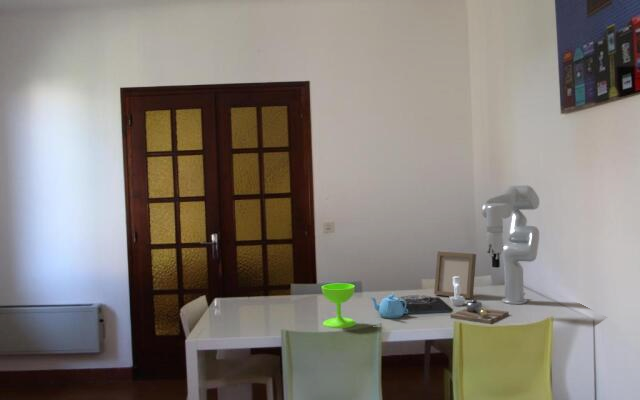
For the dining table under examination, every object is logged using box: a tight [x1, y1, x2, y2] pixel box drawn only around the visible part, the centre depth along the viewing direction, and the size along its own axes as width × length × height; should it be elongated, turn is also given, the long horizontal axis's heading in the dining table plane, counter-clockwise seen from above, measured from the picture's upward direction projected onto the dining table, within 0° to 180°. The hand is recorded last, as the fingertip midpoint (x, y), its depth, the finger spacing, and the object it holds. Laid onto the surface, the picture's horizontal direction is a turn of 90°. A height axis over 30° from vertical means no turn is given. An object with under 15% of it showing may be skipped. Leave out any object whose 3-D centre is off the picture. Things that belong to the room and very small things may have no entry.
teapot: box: [369, 291, 409, 319], centre depth 280 cm, size 15×15×10 cm
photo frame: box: [433, 251, 477, 300], centre depth 322 cm, size 15×22×25 cm
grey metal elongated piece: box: [466, 299, 487, 316], centre depth 272 cm, size 19×7×5 cm, turn 2°
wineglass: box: [321, 282, 357, 329], centre depth 268 cm, size 16×16×18 cm
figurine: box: [448, 276, 466, 307], centre depth 299 cm, size 7×9×15 cm
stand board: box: [450, 307, 510, 325], centre depth 273 cm, size 21×20×2 cm
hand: (496, 267), depth 276 cm, fingers closed
